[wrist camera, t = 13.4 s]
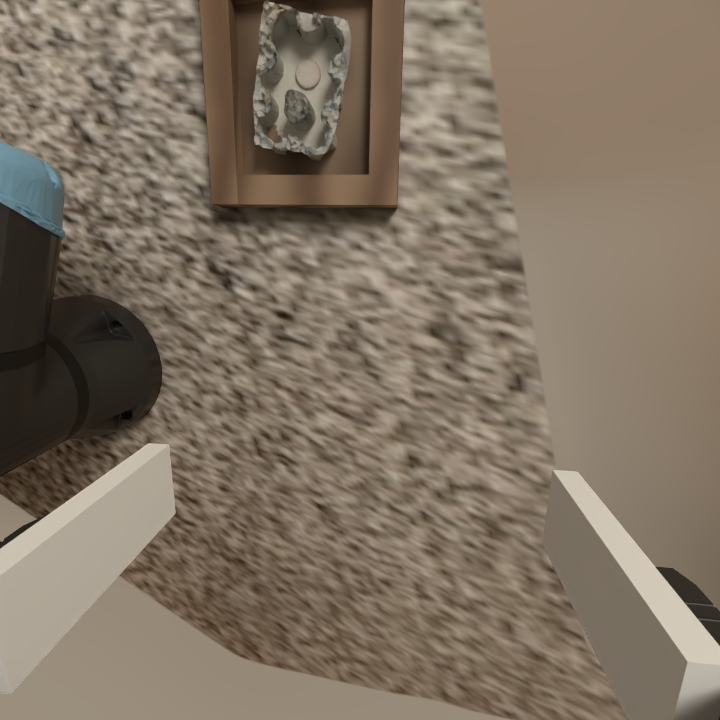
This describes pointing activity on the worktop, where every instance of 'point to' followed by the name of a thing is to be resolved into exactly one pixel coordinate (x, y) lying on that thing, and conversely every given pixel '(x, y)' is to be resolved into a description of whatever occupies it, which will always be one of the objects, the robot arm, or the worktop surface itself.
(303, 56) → the egg carton
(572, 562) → the robot arm
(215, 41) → the pocket board
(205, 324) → the worktop surface
